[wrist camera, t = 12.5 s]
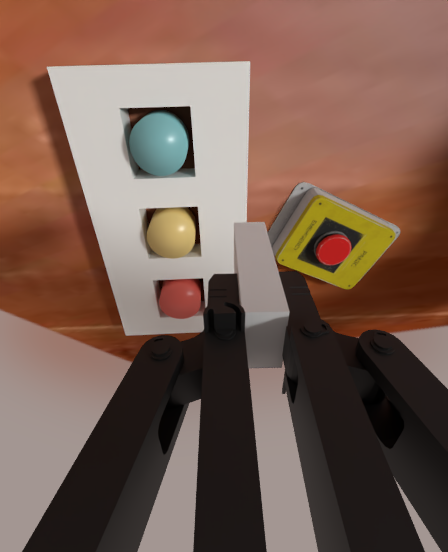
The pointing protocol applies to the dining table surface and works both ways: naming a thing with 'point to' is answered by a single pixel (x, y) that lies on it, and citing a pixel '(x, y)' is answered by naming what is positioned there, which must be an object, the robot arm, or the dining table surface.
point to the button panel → (158, 189)
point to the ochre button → (172, 232)
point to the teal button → (159, 143)
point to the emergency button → (328, 236)
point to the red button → (180, 297)
